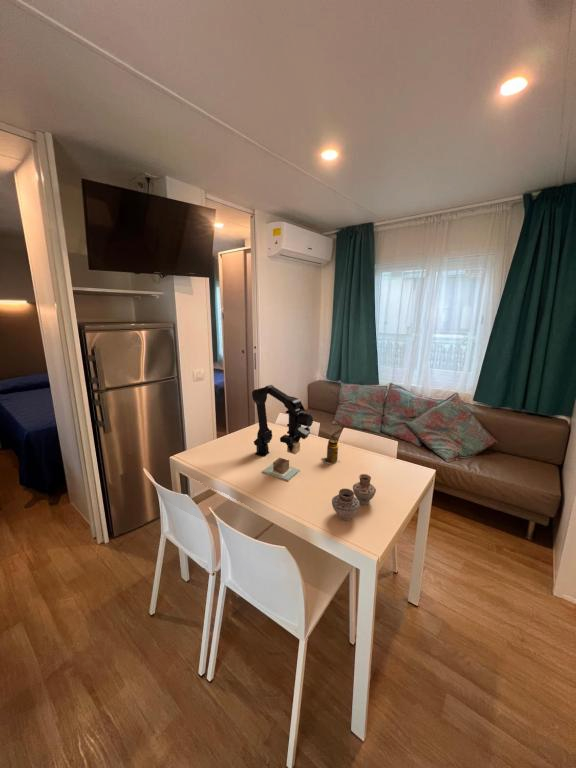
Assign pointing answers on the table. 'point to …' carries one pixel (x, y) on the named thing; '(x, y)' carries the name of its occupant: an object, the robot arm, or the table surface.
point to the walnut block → (281, 465)
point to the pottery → (353, 498)
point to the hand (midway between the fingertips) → (293, 449)
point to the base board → (285, 476)
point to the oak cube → (294, 448)
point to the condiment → (331, 452)
